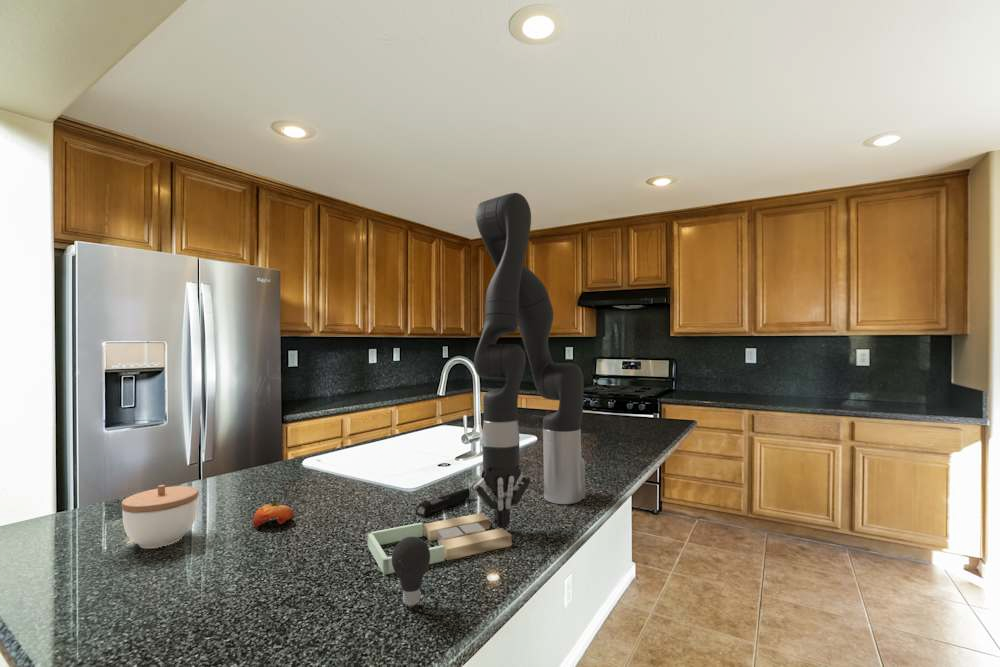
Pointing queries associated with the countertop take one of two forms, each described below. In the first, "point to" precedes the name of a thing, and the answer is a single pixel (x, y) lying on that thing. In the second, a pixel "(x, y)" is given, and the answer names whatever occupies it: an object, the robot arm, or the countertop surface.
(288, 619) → the countertop surface
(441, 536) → the metal chip
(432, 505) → the electric trimmer
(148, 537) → the lidded bowl
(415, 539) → the light bulb
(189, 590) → the countertop surface
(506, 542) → the slot rails
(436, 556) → the box
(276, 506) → the tomato
